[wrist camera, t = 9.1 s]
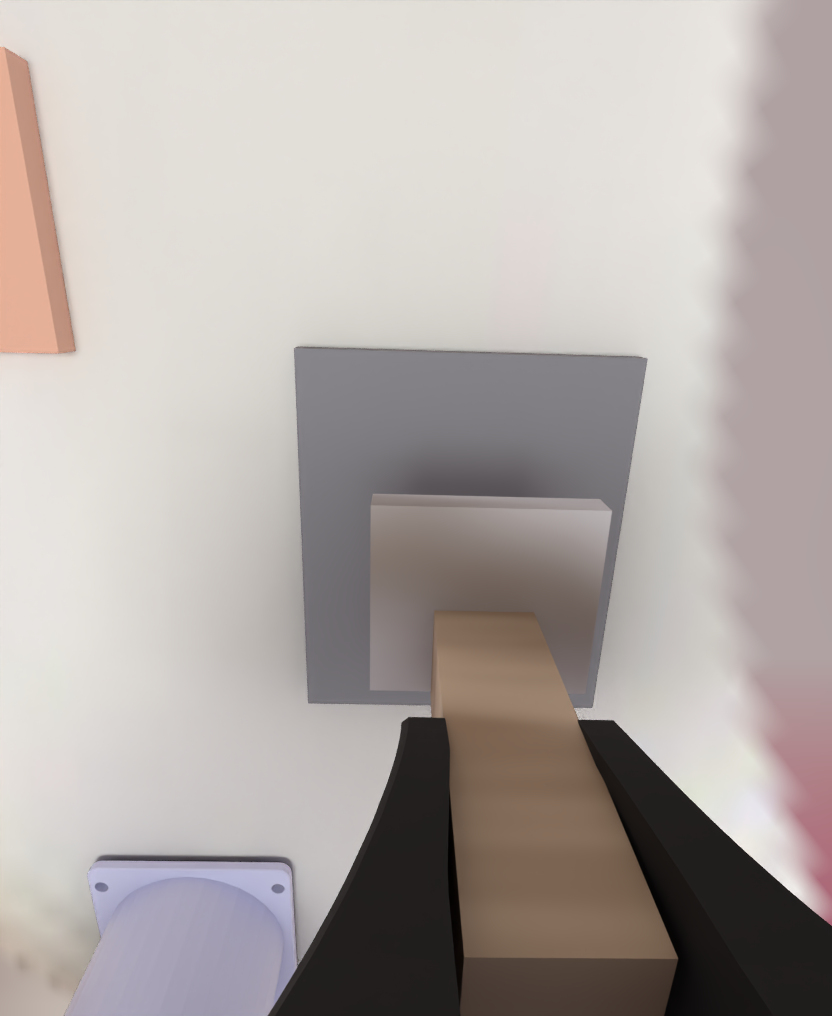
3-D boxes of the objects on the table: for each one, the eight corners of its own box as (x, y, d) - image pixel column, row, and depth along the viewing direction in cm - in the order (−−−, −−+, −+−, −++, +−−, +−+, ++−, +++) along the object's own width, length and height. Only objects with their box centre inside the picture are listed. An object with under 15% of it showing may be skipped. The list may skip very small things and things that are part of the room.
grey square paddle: (575, 676, 14) (765, 1092, 7) (371, 673, 14) (329, 1091, 7) (600, 498, 13) (879, 773, 5) (372, 493, 13) (320, 765, 5)
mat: (587, 696, 21) (592, 707, 20) (310, 692, 21) (308, 703, 20) (639, 356, 17) (647, 358, 16) (297, 346, 17) (294, 348, 16)
